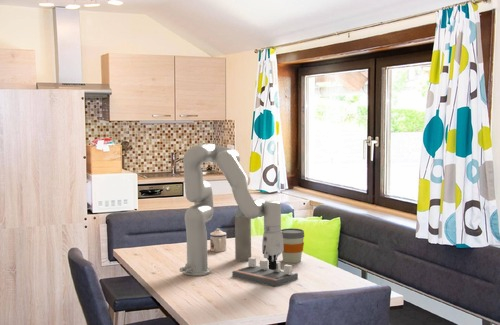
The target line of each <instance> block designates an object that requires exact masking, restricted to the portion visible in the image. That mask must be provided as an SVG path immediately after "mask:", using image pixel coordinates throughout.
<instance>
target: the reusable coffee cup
mask: <svg viewBox="0 0 500 325" xmlns="http://www.w3.org/2000/svg"><path fill="white" fill-rule="evenodd" d="M281 231H282V235H283V245H284V251H283V252H282V253H281V256H282V261H283V262H285V263H290V264H291V263H300V262H302V261H301V260H302V255H303V251H304V245H305V244H304V243H305V242H304V237H305V230H304V229H302V228H294V227H293V228H283V229H282V228H281Z"/></svg>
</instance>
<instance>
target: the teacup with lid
mask: <svg viewBox="0 0 500 325" xmlns="http://www.w3.org/2000/svg"><path fill="white" fill-rule="evenodd" d="M227 235H228V234H227V232H225V231H223V230H221V229H220V228H216V230H214V231H212V232H210V233H209V236H210V237H209V240H210V241H209V242H210V245H209V248H210V251H211V252H215V253H221V252H225V251H227Z"/></svg>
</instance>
